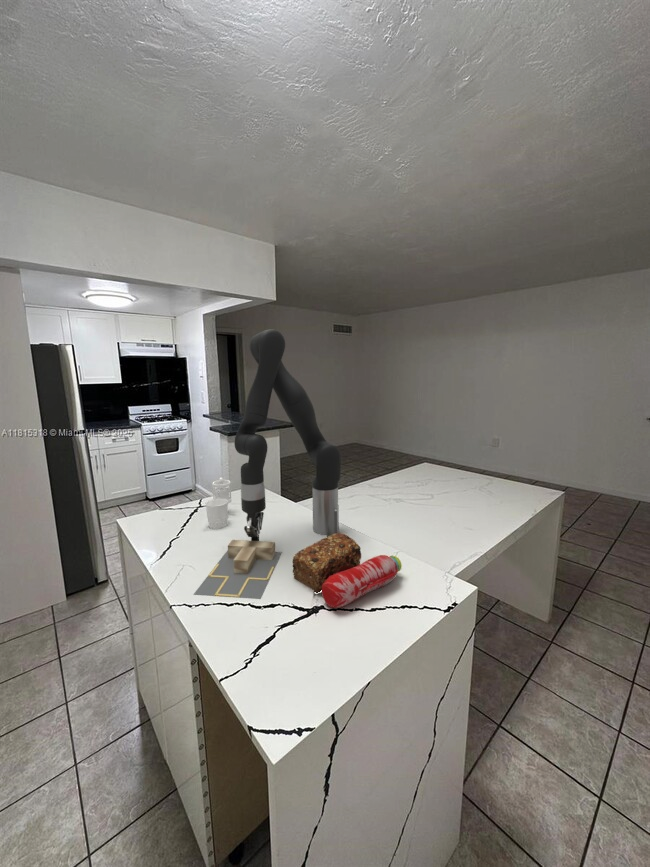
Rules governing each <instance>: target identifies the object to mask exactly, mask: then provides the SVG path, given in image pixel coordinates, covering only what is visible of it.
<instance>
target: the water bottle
mask: <svg viewBox="0 0 650 867" xmlns="http://www.w3.org/2000/svg"><path fill="white" fill-rule="evenodd" d="M402 567H403V565H402V562H401V560H400V558H399V557H398V556H396V555H390V556H388V555H385V554H379V555H378V556H373V557H372V558H369V559H367V560H365V561H363V562H362V563H360V565H358V566H356V567H352V566H348V565H344V564H343V565H342V566H341V567H340V568H338V569H337V570H336V571H334V572H333V573H332V574H334V575H332V576H330V577H329V578H328V579H327V580H326V581H325V582H324V583H323V585H322V592H321V594H322V598H323V599H324V601H325V603H326V604H327V605H328V607H331V608H343V607H345V606H347V605H349V604H351V603H353V602H354V601H356V600H357V599H359V598H361V597H362V596H364V595H366V594H368V593H370V592H373V591H375V590H378V589H382V587H384V586H386V585H388V584H389V583H390V582H391V583H392V581H393V580H394V579H395V578H396V576H397V573H399V572H400V571H401V570H402Z"/></svg>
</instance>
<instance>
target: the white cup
mask: <svg viewBox="0 0 650 867" xmlns="http://www.w3.org/2000/svg"><path fill="white" fill-rule="evenodd" d="M228 504H229V503H228V501H227V500H226V499H211V500H208V501H206V502H205V509H206V515H207V516H206V517H207V522H208V528H209V529H213V530H215V529H216V530H217V529H223V528H226V527H227V526H228V522H229V520H228V519H229V505H228Z"/></svg>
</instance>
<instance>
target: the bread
mask: <svg viewBox="0 0 650 867" xmlns="http://www.w3.org/2000/svg"><path fill="white" fill-rule="evenodd" d="M361 559H362V552H361V546H360V545H359V544H358V543H357V542H356V541H355V540H354V539H352V538H351V537H350V536H349V535H347V534H345V533H342V532H338V533H335V534H333V535H331V536H328V537H327V536H326V537H323V538H322V539H320V540H319V541H317V542H314V543H312V544H311V545H309V546H306V547H305V548H303V549H301V550H299V551H297V552H296V553H295V554H294V556H293V558H292V573H293V574H292V575H293V578H294V579H295V580H296V581H297V582H299V583H301V584H303V585H304V586H305V587H307V588H309V589H311V590H313V593H314V592H316V593H318V592H320V591H321V590H322V585H323V583H324V582H325V581H326V580H327V579H328V578H329V577H330V576H332V575H334V574H332V573H333V572H334V571H336V570H337V569H338V568H340V567H341V566H342V565H343V564H344V565H348V566H352V567H356V566H358V565H360V564H361Z"/></svg>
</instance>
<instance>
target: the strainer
mask: <svg viewBox="0 0 650 867" xmlns="http://www.w3.org/2000/svg"><path fill="white" fill-rule="evenodd" d="M231 484H232V483H231V480H228V479H224V478H223V477H219V480H218V479H217V480H215V481H213V482H212V485H211V486H212V497H213V499H226V500H227V501H228V504H230V503H232V491H231V490H232V486H231ZM213 499H212V500H213Z"/></svg>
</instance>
